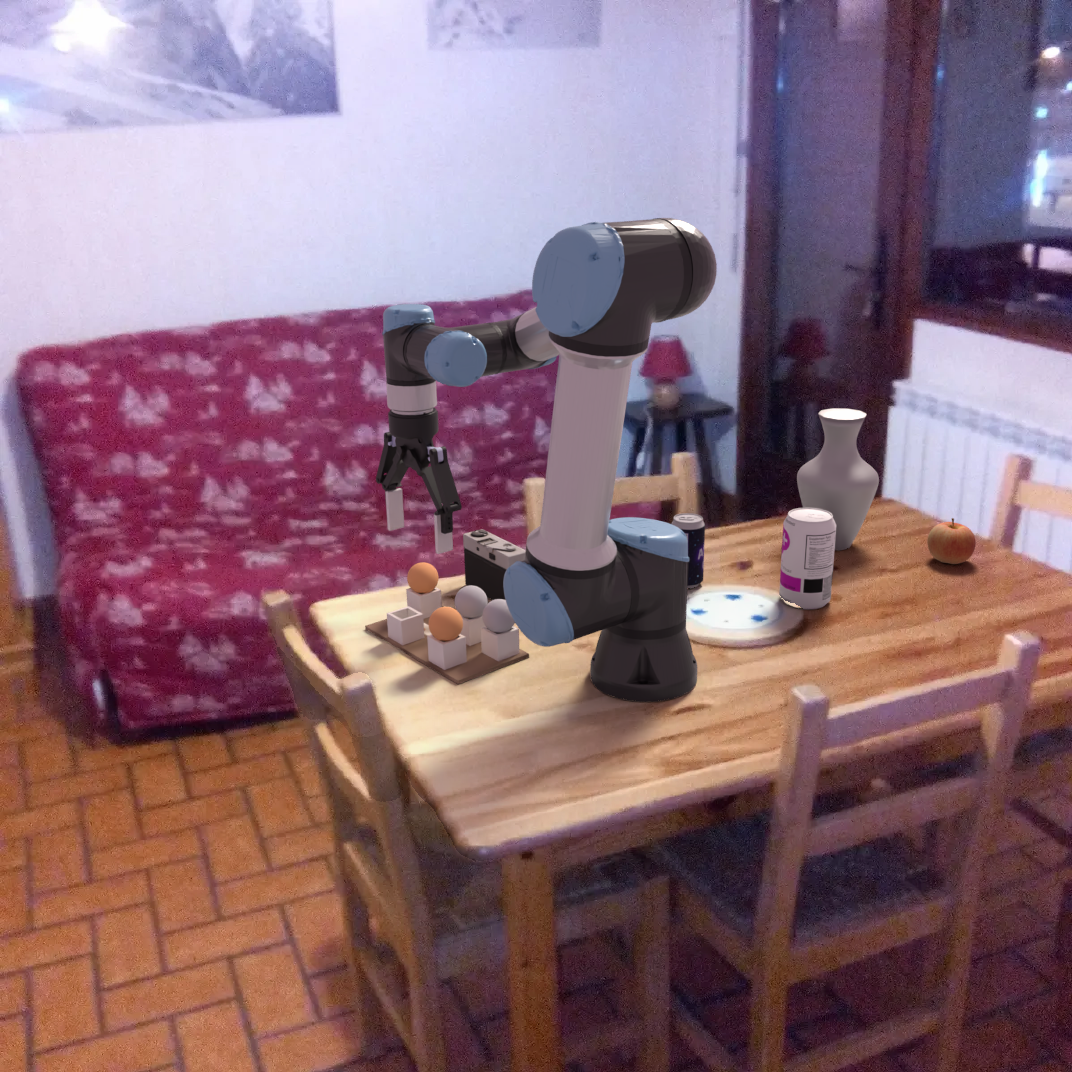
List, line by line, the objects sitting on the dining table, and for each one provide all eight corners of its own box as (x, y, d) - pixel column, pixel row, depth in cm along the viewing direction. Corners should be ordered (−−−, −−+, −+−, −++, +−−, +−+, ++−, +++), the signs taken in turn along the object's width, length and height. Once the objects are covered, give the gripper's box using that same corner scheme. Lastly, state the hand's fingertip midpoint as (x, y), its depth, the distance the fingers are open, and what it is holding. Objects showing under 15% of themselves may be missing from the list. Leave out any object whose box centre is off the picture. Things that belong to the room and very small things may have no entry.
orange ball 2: (470, 640, 163) (469, 608, 162) (442, 650, 160) (440, 618, 159) (450, 629, 167) (449, 598, 165) (422, 638, 164) (420, 607, 162)
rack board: (529, 657, 167) (528, 651, 167) (457, 684, 159) (457, 678, 159) (433, 607, 185) (433, 602, 185) (365, 629, 178) (365, 624, 177)
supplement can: (774, 607, 183) (780, 519, 177) (784, 588, 190) (789, 504, 185) (825, 613, 180) (832, 525, 175) (833, 594, 187) (840, 509, 182)
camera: (549, 599, 187) (548, 543, 184) (508, 612, 183) (506, 554, 180) (502, 575, 198) (501, 521, 195) (463, 586, 194) (460, 531, 190)
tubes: (519, 653, 167) (518, 628, 166) (456, 677, 160) (455, 651, 159) (428, 605, 184) (426, 582, 183) (367, 624, 178) (366, 601, 176)
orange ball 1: (445, 592, 180) (443, 563, 179) (419, 601, 177) (417, 571, 176) (427, 584, 184) (426, 555, 182) (402, 592, 181) (400, 563, 179)
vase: (887, 543, 209) (899, 411, 201) (848, 564, 199) (859, 427, 191) (818, 526, 219) (827, 400, 210) (778, 546, 209) (785, 414, 200)
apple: (921, 552, 204) (925, 511, 201) (967, 554, 203) (972, 512, 200) (929, 569, 197) (934, 525, 194) (977, 570, 196) (982, 527, 193)
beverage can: (701, 591, 189) (704, 524, 185) (668, 589, 190) (669, 522, 186) (704, 578, 195) (706, 513, 190) (671, 576, 196) (672, 511, 192)
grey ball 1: (494, 617, 171) (493, 587, 169) (468, 626, 168) (466, 595, 166) (475, 607, 174) (473, 577, 173) (448, 616, 172) (447, 586, 170)
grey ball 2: (523, 632, 166) (522, 600, 164) (496, 641, 163) (495, 610, 161) (502, 621, 169) (501, 590, 168) (476, 630, 166) (474, 599, 165)
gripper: (482, 420, 164) (486, 555, 171) (389, 390, 182) (396, 514, 189) (439, 429, 159) (445, 568, 167) (348, 398, 177) (357, 524, 185)
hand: (419, 539), depth 178 cm, fingers open, 13 cm apart
